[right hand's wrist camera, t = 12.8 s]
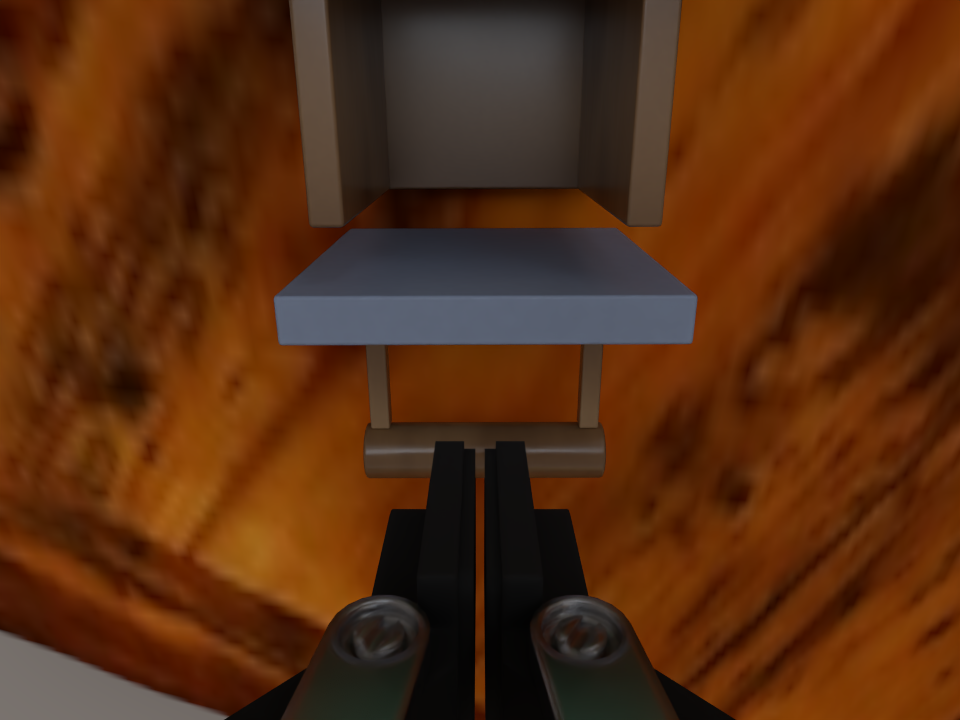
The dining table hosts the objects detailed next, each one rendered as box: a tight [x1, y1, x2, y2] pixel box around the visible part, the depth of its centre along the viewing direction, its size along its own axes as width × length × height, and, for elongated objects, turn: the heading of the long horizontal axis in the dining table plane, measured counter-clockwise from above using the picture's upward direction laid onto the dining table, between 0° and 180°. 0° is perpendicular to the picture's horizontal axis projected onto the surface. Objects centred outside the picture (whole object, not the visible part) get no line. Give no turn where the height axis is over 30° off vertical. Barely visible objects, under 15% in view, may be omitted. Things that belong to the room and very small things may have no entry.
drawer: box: [274, 0, 697, 478], centre depth 18 cm, size 21×10×10 cm, turn 0°
